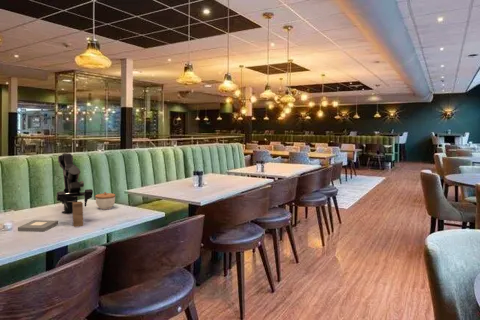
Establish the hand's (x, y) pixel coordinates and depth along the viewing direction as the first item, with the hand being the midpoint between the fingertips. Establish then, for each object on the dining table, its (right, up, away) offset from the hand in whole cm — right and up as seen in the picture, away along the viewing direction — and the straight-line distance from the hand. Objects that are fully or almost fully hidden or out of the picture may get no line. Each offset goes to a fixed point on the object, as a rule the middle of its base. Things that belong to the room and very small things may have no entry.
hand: (76, 207), depth 199 cm
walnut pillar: (+1, -10, -1) cm, 10 cm away
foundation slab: (-18, -10, -7) cm, 22 cm away
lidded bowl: (+1, -6, +39) cm, 40 cm away
